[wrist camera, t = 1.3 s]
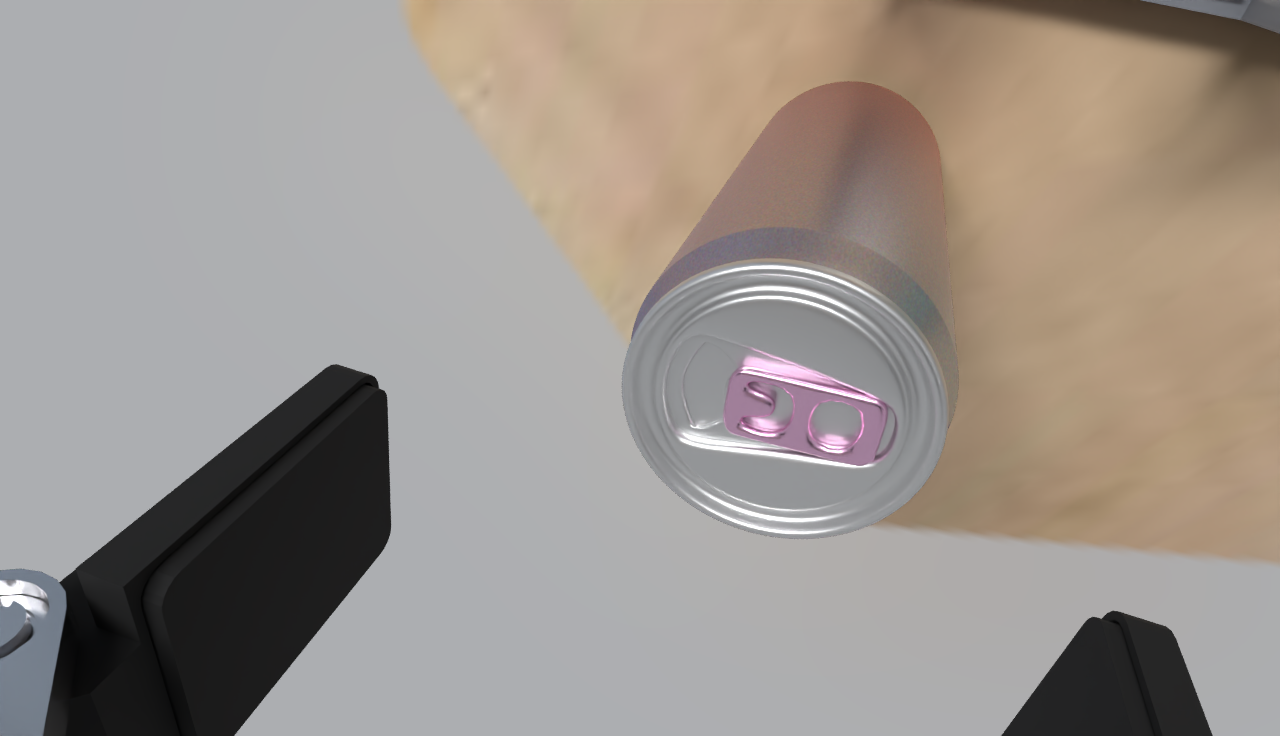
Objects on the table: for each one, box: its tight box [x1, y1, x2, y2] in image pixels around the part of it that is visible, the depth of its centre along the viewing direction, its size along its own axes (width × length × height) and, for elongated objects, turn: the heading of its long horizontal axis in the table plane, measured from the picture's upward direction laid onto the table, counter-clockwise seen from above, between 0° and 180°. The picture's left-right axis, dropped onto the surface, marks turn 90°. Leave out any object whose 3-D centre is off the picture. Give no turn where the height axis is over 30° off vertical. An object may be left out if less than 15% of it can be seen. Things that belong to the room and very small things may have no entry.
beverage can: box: [622, 81, 959, 539], centre depth 19 cm, size 6×6×15 cm
